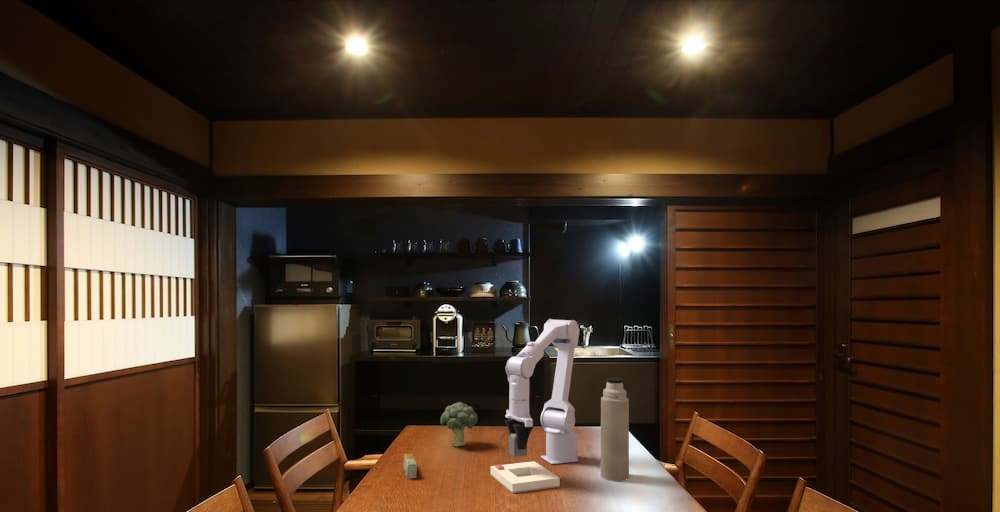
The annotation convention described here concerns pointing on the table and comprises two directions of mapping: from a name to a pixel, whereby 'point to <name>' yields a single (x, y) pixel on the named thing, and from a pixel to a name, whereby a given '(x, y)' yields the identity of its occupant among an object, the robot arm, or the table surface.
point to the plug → (515, 447)
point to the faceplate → (524, 477)
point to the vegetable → (459, 420)
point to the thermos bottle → (614, 431)
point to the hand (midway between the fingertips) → (518, 446)
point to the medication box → (410, 466)
